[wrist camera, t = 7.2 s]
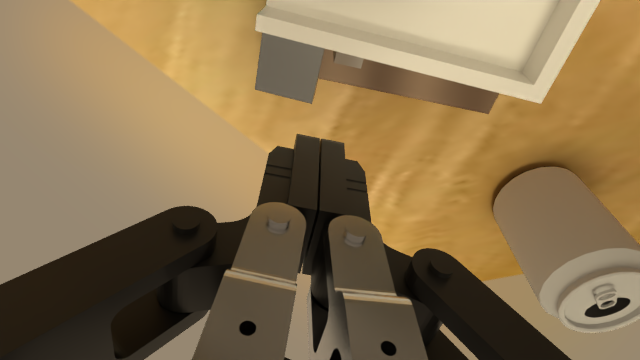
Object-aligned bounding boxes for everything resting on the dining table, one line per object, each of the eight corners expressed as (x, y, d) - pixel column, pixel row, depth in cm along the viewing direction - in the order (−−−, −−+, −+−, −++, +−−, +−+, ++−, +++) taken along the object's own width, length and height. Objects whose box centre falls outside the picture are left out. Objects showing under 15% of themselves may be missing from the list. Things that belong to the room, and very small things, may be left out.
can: (502, 237, 39) (563, 352, 30) (478, 183, 36) (538, 294, 26) (584, 207, 37) (678, 320, 27) (567, 146, 33) (670, 251, 24)
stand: (586, -99, 24) (654, -97, 19) (484, 108, 31) (514, 148, 27) (318, -176, 22) (317, -196, 17) (279, 64, 30) (270, 99, 25)
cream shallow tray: (598, -60, 19) (631, -55, 17) (491, 142, 26) (504, 167, 23) (289, -143, 19) (276, -150, 16) (258, 83, 25) (246, 102, 23)
